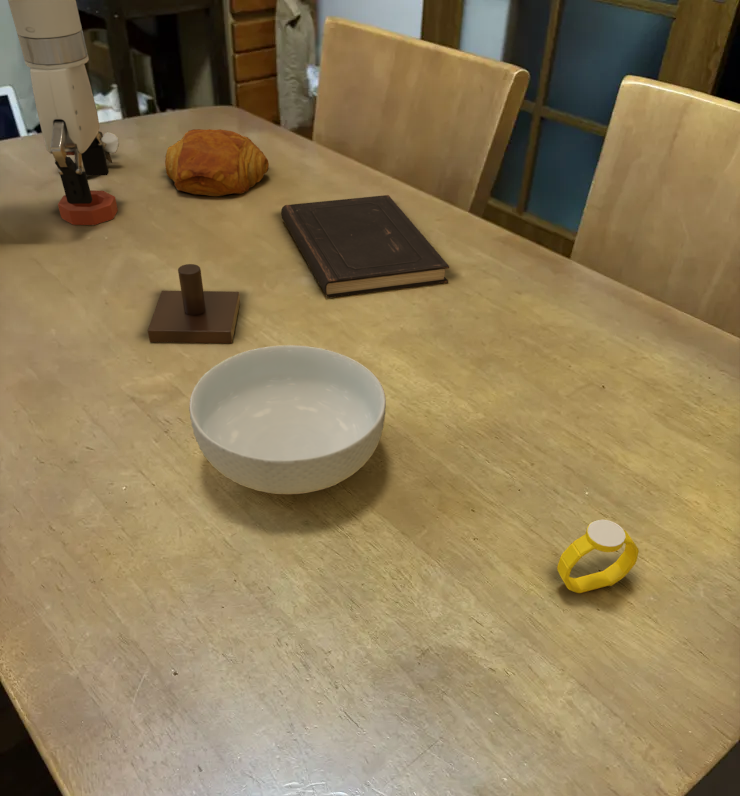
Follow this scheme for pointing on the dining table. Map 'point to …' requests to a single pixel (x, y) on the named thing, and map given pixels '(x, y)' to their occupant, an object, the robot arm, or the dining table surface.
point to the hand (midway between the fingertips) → (89, 188)
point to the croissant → (215, 163)
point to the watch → (603, 539)
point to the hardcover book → (362, 246)
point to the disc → (89, 209)
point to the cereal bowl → (288, 418)
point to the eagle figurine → (107, 145)
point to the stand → (194, 312)
